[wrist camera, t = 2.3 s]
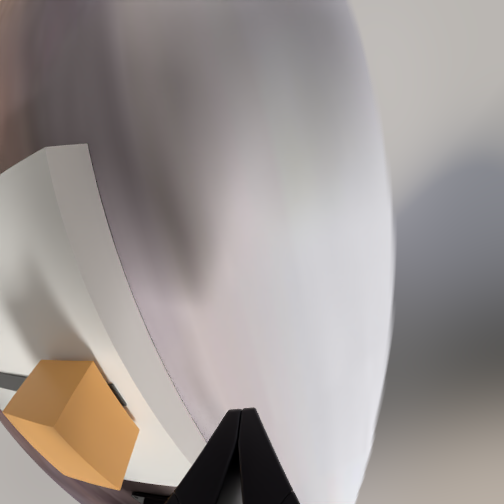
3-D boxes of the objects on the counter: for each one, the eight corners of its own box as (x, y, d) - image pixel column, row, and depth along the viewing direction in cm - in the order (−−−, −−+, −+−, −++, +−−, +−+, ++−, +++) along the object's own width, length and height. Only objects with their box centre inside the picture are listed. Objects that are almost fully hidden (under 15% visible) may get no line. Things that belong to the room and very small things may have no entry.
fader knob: (139, 430, 10) (120, 490, 7) (87, 424, 10) (63, 474, 7) (93, 360, 8) (53, 427, 5) (41, 359, 9) (2, 412, 6)
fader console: (215, 456, 15) (211, 489, 12) (56, 437, 16) (45, 459, 14) (87, 143, 9) (42, 147, 6) (-59, 230, 10) (-85, 244, 7)
